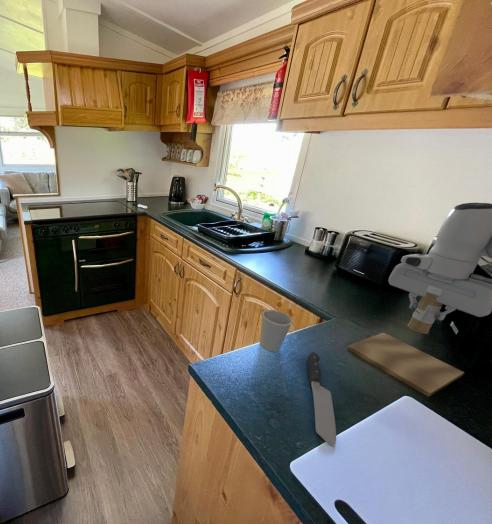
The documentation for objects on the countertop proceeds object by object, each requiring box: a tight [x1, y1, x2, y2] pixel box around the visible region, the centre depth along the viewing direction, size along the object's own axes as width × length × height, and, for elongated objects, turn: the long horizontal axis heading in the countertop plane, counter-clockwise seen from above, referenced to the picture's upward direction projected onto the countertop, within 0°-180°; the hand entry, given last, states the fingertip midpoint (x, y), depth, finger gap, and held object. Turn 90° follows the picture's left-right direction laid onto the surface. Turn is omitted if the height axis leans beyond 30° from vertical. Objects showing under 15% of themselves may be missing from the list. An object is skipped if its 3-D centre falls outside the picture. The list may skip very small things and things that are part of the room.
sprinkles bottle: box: [407, 286, 443, 334], centre depth 78 cm, size 5×5×13 cm
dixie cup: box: [259, 309, 294, 352], centre depth 86 cm, size 8×8×10 cm
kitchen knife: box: [306, 351, 337, 448], centre depth 70 cm, size 29×3×5 cm
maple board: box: [346, 332, 465, 398], centre depth 84 cm, size 20×20×1 cm
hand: (425, 313), depth 78 cm, fingers closed on sprinkles bottle, 4 cm apart
